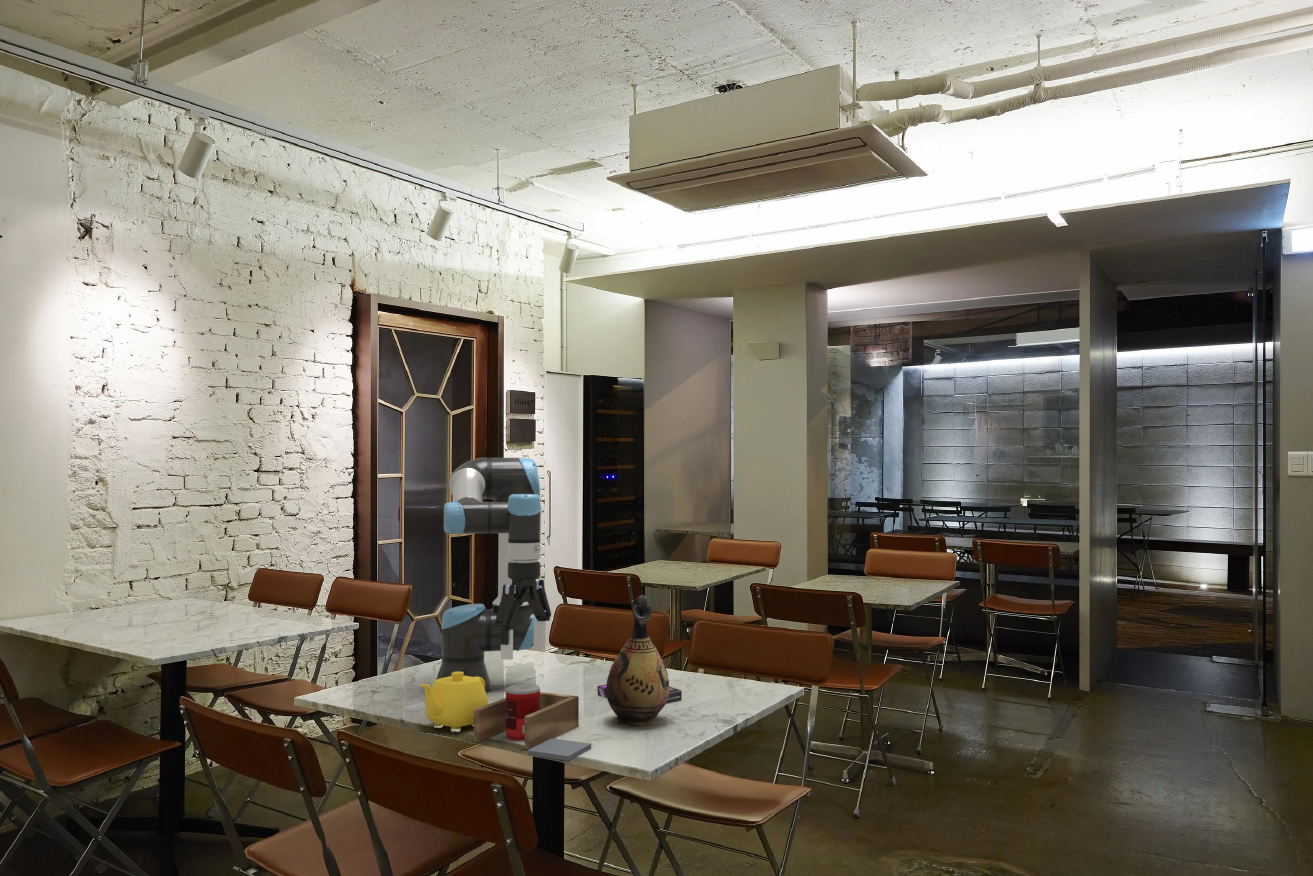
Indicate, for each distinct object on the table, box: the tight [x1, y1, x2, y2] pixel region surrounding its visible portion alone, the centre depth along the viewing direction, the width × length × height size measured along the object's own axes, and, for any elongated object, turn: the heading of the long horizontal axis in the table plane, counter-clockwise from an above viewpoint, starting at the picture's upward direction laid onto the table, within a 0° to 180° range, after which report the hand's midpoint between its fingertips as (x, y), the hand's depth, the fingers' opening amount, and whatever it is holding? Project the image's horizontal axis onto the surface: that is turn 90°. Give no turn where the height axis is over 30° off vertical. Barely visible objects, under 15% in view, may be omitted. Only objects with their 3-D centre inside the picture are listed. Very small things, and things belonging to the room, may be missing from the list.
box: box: [596, 684, 683, 705], centre depth 246 cm, size 14×4×20 cm
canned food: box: [505, 683, 541, 741], centre depth 210 cm, size 8×8×11 cm
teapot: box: [419, 672, 489, 730], centre depth 217 cm, size 14×20×13 cm
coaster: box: [526, 738, 592, 762], centre depth 198 cm, size 10×10×1 cm
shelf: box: [472, 691, 580, 750], centre depth 212 cm, size 15×21×7 cm
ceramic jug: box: [605, 594, 671, 728], centre depth 224 cm, size 17×15×30 cm
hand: (523, 654), depth 211 cm, fingers open, 13 cm apart
